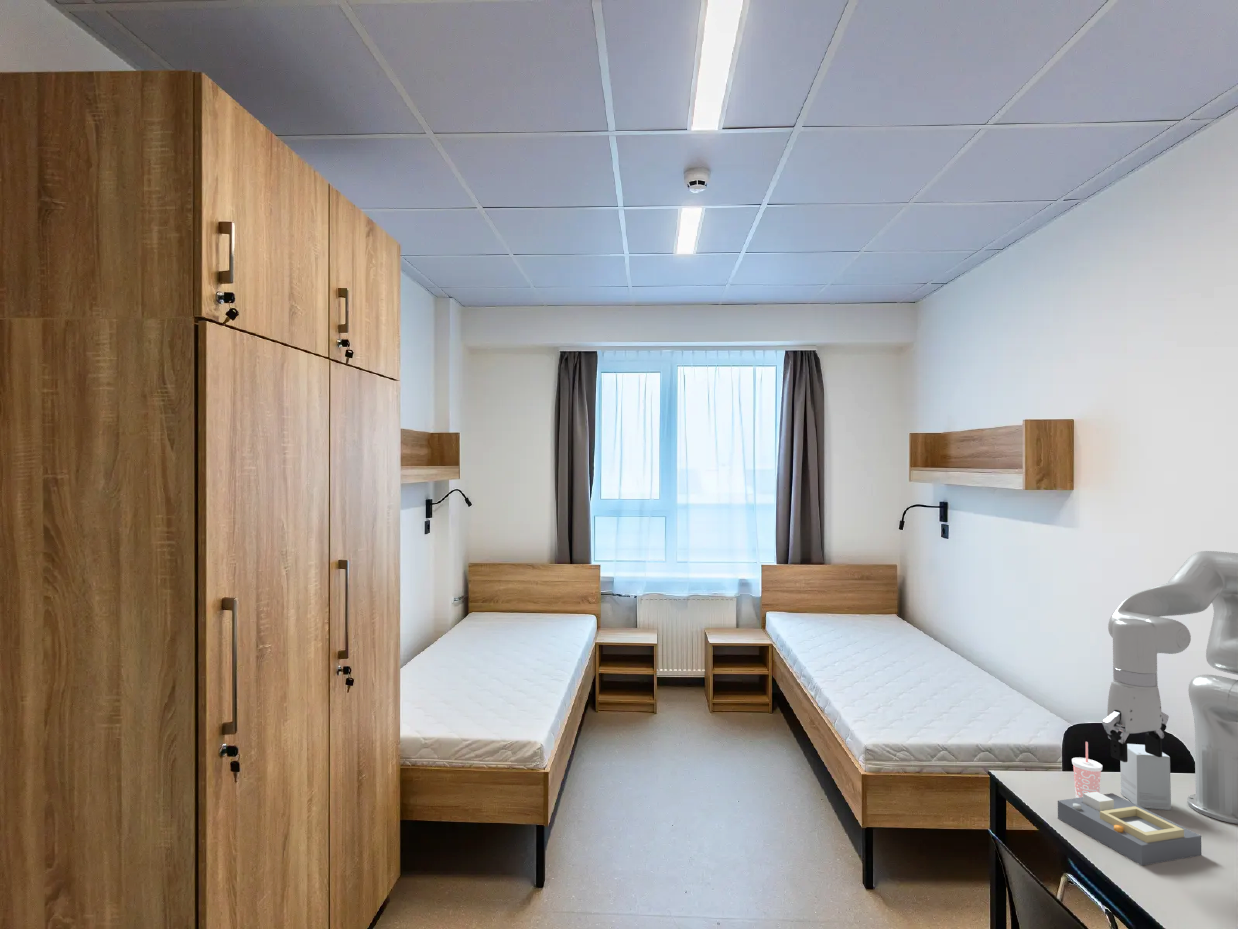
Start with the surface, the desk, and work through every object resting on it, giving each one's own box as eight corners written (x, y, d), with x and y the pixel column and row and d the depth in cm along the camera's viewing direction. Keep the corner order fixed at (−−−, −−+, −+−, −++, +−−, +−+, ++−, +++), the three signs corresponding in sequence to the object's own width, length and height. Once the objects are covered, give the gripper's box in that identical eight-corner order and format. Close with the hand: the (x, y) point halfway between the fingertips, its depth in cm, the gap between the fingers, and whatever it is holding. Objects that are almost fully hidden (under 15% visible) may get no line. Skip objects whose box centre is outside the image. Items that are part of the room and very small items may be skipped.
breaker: (1096, 809, 150) (1096, 791, 150) (1113, 817, 146) (1113, 799, 146) (1083, 811, 149) (1082, 793, 149) (1099, 819, 145) (1099, 801, 145)
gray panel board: (1112, 810, 154) (1112, 786, 154) (1201, 855, 135) (1201, 828, 135) (1057, 818, 150) (1057, 794, 150) (1141, 865, 131) (1141, 838, 132)
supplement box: (1172, 811, 154) (1171, 757, 154) (1136, 807, 155) (1136, 754, 155) (1153, 796, 161) (1152, 744, 161) (1119, 793, 162) (1118, 742, 163)
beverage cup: (1068, 798, 159) (1067, 741, 160) (1077, 791, 163) (1077, 735, 163) (1097, 808, 154) (1096, 749, 155) (1106, 801, 158) (1106, 743, 158)
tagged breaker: (1138, 839, 141) (1138, 820, 141) (1158, 849, 137) (1157, 830, 137) (1124, 841, 140) (1124, 822, 140) (1143, 851, 136) (1143, 832, 136)
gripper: (1147, 669, 146) (1148, 746, 146) (1087, 675, 142) (1088, 754, 142) (1183, 679, 139) (1185, 760, 139) (1121, 686, 135) (1123, 769, 134)
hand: (1136, 757), depth 140 cm, fingers open, 9 cm apart
